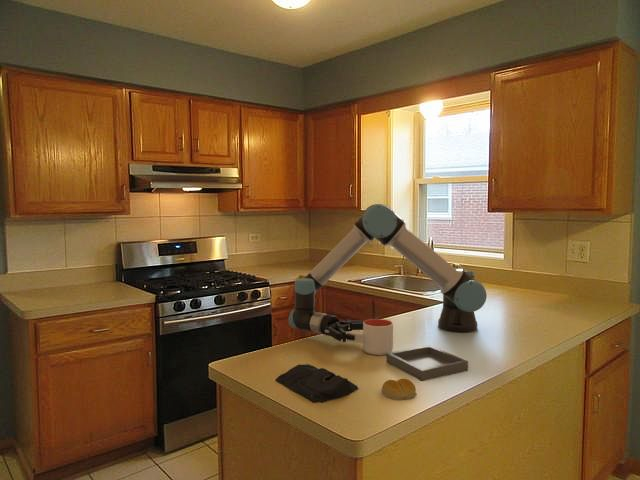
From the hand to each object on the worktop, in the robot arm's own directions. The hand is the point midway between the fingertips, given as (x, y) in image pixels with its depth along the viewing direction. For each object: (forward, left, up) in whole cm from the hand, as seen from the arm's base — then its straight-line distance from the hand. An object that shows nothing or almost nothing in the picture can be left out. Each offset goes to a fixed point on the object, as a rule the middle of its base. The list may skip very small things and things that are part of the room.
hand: (374, 334), depth 161 cm
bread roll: (+14, +33, -6) cm, 36 cm away
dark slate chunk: (+31, +17, -7) cm, 36 cm away
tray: (-6, +20, -6) cm, 21 cm away
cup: (-1, +1, -6) cm, 6 cm away
